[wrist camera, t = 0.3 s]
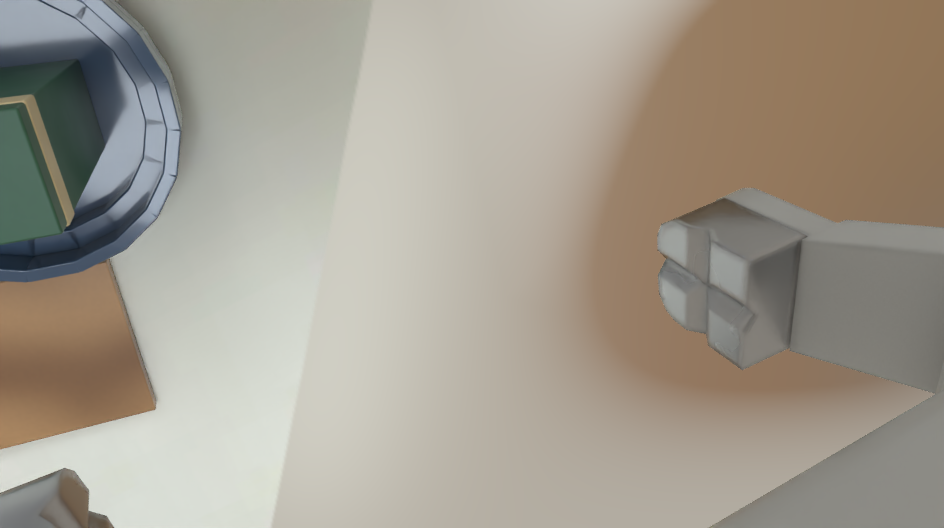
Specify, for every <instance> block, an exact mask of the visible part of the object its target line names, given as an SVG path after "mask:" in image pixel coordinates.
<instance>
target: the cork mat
mask: <svg viewBox="0 0 944 528" xmlns="http://www.w3.org/2000/svg"><path fill="white" fill-rule="evenodd" d="M155 409H156V399H155V396H154V393H153V390H152V387H151V384H150V381H149V378H148V375H147V372H146V369H145V366H144V363H143V360H142V357H141V354H140V351H139V348H138V345H137V342H136V339H135V336H134V333H133V330H132V327H131V324H130V321H129V318H128V315H127V312H126V309H125V306H124V303H123V300H122V297H121V294H120V291H119V288H118V285H117V282H116V279H115V276H114V273H113V270H112V267H111V264H110V261H109V258H108V259H106V260H105V261H103V262H101V263H99V264H97V265H95V266H93V267H91V268H89V269H87V270H85V271H83V272H79V273H75V274H70V275H64V276H59V277H54V278H49V279H44V280H39V281H34V282H9V281H0V449H3V448H7V447H11V446H15V445H19V444H23V443H27V442H31V441H35V440H38V439H42V438H46V437H50V436H54V435H58V434H62V433H66V432H70V431H73V430H77V429H81V428H85V427H89V426H93V425H97V424H101V423H105V422H109V421H112V420H116V419H120V418H124V417H128V416H132V415H136V414H140V413H144V412H147V411H151V410H155Z"/></svg>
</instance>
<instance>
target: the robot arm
mask: <svg viewBox="0 0 944 528" xmlns="http://www.w3.org/2000/svg"><path fill="white" fill-rule="evenodd" d="M658 251H659V252H660V253H661V254H662V255H663V256H664V257H665V258H666V260H665V262H664V264H663V266H662V268H661V270H660V272H659V274H658V281H659V295H660V297H661V299H662V301H663V304H664V306H665V308H666V311H668V313H669V314H670V315H671V317H672V318H673V319H674V320H675V321H676V322H677V323H678V324H680V325H681V326H682V327H684V328H685V329H686V330H689V331H694V332H699V333H704V334H706V336H707V341H708V346H709V347H711V348H712V349H714V350H715V351H716V352H718V353H719V354H721V355H722V356H723V357H725V358H726V359H728V360H729V361H730V362H732V363H733V364H734V365H736V366H737V367H739V368H740V369H741V370H743V369H746V368H748V367H750V366H752V365H754V364H756V363H758V362H760V361H762V360H764V359H767V358H769V357H771V356H773V355H775V354H777V353H779V352H782V351H784V350H786V349H788V348H790V351H792V352H796V353H799V354H802V355H806V356H810V357H813V358H816V359H820V360H823V361H826V362H830V363H833V364H836V365H840V366H843V367H847V368H850V369H854V370H857V371H860V372H864V373H867V374H870V375H874V376H877V377H881V378H884V379H887V380H891V381H895V382H898V383H901V384H905V385H908V386H911V387H915V388H918V389H922V390H925V391H928V392H932V393H935V395H934V396H932V397H930V398H928V399H927V400H925V401H923V402H921V403H920V404H918V405H916V406H915V407H913V408H912V409H910V410H908V411H906V412H904V413H903V414H901V415H899V416H898V417H896V418H894V419H893V420H891V421H889V422H887V423H886V424H884V425H882V426H881V427H879V428H877V429H876V430H874V431H872V432H870V433H869V434H867V435H865V436H864V437H862V438H860V439H859V440H857V441H855V442H853V443H852V444H850V445H848V446H847V447H845V448H843V449H842V450H840V451H838V452H837V453H835V454H833V455H831V456H830V457H828V458H826V459H825V460H823V461H821V462H820V463H818V464H816V465H815V466H813V467H811V468H809V469H808V470H806V471H804V472H803V473H801V474H799V475H797V476H796V477H794V478H792V479H791V480H789V481H787V482H786V483H784V484H782V485H780V486H779V487H777V488H775V489H774V490H772V491H770V492H769V493H767V494H765V495H763V496H762V497H760V498H758V499H757V500H755V501H753V502H752V503H750V504H748V505H746V506H745V507H743V508H741V509H740V510H738V511H736V512H735V513H733V514H731V515H730V516H728V517H726V518H724V519H723V520H721V521H720V522H718V523H716V524H714V525H712V526H711V527H709V528H944V228H942V227H930V226H916V225H904V224H890V223H878V222H866V221H853V220H845V221H842V222H840V223H836V222H833V221H831V220H829V219H826V218H824V217H821V216H819V215H817V214H814V213H812V212H810V211H807V210H805V209H803V208H800V207H798V206H795V205H793V204H791V203H788V202H786V201H784V200H781V199H779V198H777V197H774V196H772V195H769V194H767V193H765V192H762V191H760V190H758V189H755V188H742V189H740V190H737V191H735V192H733V193H731V194H729V195H726V196H724V197H722V198H720V199H718V200H716V201H715V202H713V203H711V204H708V205H706V206H703V207H701V208H699V209H697V210H694V211H692V212H689V213H687V214H684V215H682V216H680V217H678V218H676V219H673V220H670V221H668V222H665V223H663V224H661V227H660V230H659V232H658ZM88 504H89V490H88V489H87V487H86V486H85V485H84V483H83V482H82V481H81V479H80V478H79V477H78V475H77V474H76V473H75V471H73V470H70V469H67V468H64V469H61V470H58V471H56V472H53V473H51V474H48V475H46V476H43V477H40V478H38V479H35V480H33V481H30V482H28V483H25V484H22V485H20V486H17V487H15V488H12V489H10V490H7V491H4V492H2V493H0V528H114V527H113V525H112V524H111V522H110V521H109V519H108V517H107V516H105V515H101V514H98V513H94V512H91V511H88Z"/></svg>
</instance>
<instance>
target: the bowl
mask: <svg viewBox="0 0 944 528" xmlns="http://www.w3.org/2000/svg"><path fill="white" fill-rule="evenodd" d="M74 59H77V60H78V61H79V63H80V66H81V69H82V72H83V76H84V79H85V82H86V85H87V89H88V92H89V95H90V98H91V101H92V105H93V108H94V111H95V114H96V117H97V121H98V124H99V127H100V130H101V134H102V137H103V140H104V143H105V148H104V150H103V152H102V154H101V156H100V158H99V161H98V163H97V165H96V167H95V169H94V171H93V173H92V175H91V177H90V179H89V181H88V183H87V185H86V187H85V189H84V191H83V193H82V195H81V197H80V199H79V201H78V203H77V205H76V207H75V209H74V213H75V214H74V217H73V219H72V221H71V223H70V225H69V226H66V227H65V229H64V231H63V233H62V234H60V235H54V236H48V237H43V238H37V239H32V240H26V241H20V242H15V243H9V244H4V245H0V281H9V282H34V281H39V280H44V279H49V278H54V277H59V276H64V275H70V274H75V273H79V272H83V271H85V270H87V269H89V268H91V267H93V266H95V265H97V264H99V263H101V262H103V261H105V260H106V259H108V258H110V257H112V256H114V255H116V254H118V253H120V252H122V251H124V250H125V249H127V248H128V247H129V246H130V245H131V244H132V243H133V242H134V241H135V240H136V239H137V238H138V237H139V236H140V235H141V234H142V233H143V232H144V231H145V230H146V229H147V228H148V227H149V226H150V225H151V224H152V223H153V222H154V221H155V220H156V219H157V218H158V216H159V214H160V212H161V210H162V208H163V206H164V204H165V202H166V200H167V197H168V195H169V193H170V191H171V189H172V187H173V185H174V183H175V181H176V178H177V175H178V164H179V153H180V141H181V129H182V112H181V108H180V104H179V100H178V96H177V92H176V88H175V84H174V80H173V77H172V73H171V71H170V68H169V67H168V65H167V63H166V62H165V60H164V59H163V57H162V55H161V54H160V52H159V51H158V49H157V47H156V46H155V44H154V42H153V41H152V39H151V38H150V36H149V34H148V33H147V31H146V29H145V28H143V26H142V25H141V24H140V23H139V22H138V21H137V20H136V19H135V18H134V17H133V16H132V15H130V14H129V13H128V12H127V11H126V10H125V9H124V8H123V7H122V6H121V5H120V4H118V3H117V2H116V1H115V0H0V68H2V67H11V66H20V65H29V64H38V63H47V62H56V61H65V60H74Z"/></svg>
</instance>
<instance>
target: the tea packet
mask: <svg viewBox="0 0 944 528" xmlns="http://www.w3.org/2000/svg"><path fill="white" fill-rule="evenodd" d="M104 148H105V143H104V140H103V137H102V134H101V130H100V127H99V124H98V121H97V117H96V114H95V111H94V108H93V105H92V101H91V98H90V95H89V92H88V89H87V85H86V82H85V79H84V76H83V72H82V69H81V66H80V63H79V61H78V60H77V59H74V60H65V61H56V62H47V63H38V64H29V65H20V66H11V67H2V68H0V245H4V244H9V243H15V242H20V241H26V240H32V239H37V238H43V237H48V236H54V235H60V234H62V233H63V231H64V229H65V227H66V226H69V225H70V223H71V221H72V219H73V217H74V214H75V213H74V209H75V207H76V205H77V203H78V201H79V199H80V197H81V195H82V193H83V191H84V189H85V187H86V185H87V183H88V181H89V179H90V177H91V175H92V173H93V171H94V169H95V167H96V165H97V163H98V161H99V158H100V156H101V154H102V152H103V150H104Z"/></svg>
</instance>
